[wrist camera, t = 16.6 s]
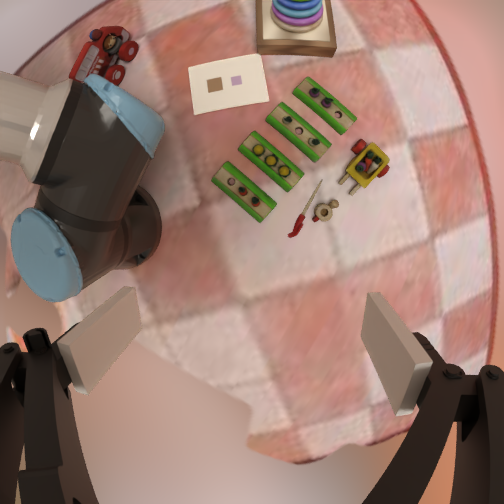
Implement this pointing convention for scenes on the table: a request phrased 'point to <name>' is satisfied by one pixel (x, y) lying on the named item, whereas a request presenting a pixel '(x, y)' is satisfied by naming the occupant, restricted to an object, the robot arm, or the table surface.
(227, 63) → the page
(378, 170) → the toy garden set
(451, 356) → the table surface
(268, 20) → the pedestal
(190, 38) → the table surface
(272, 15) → the stacking toy
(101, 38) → the toy fire truck
